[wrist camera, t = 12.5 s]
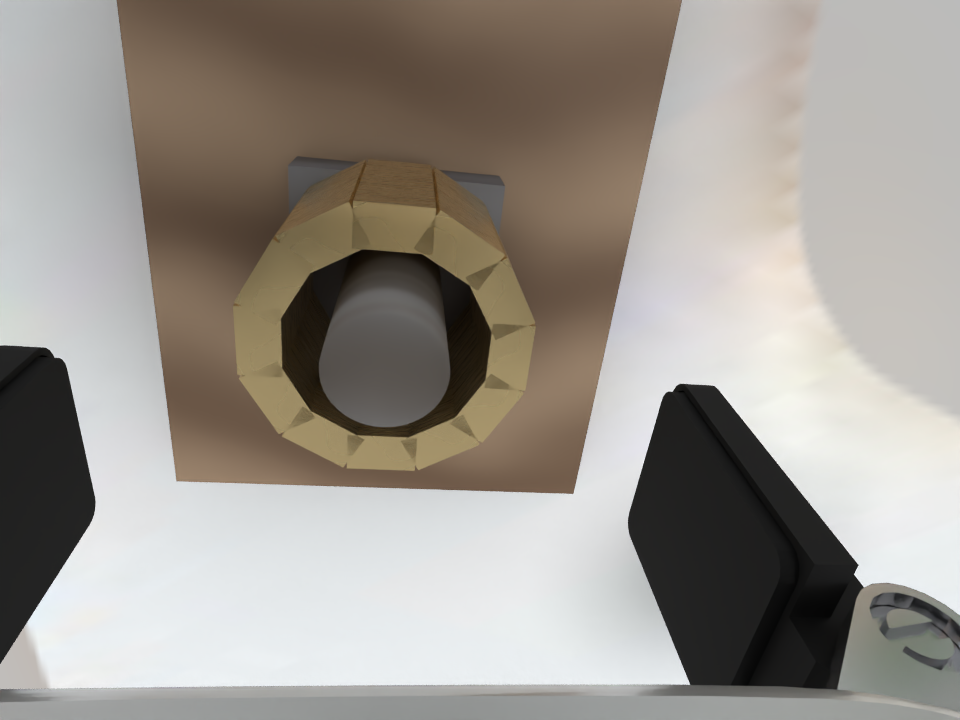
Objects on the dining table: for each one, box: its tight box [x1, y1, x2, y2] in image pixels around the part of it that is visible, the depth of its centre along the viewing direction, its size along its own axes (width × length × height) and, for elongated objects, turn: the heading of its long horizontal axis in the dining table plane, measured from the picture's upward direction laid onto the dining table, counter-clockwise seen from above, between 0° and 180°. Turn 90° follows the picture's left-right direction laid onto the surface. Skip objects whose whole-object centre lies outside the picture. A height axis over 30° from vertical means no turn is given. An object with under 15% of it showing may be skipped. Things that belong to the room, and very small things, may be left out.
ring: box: [233, 159, 536, 471], centre depth 17 cm, size 7×7×5 cm
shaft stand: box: [117, 0, 682, 494], centre depth 18 cm, size 18×15×9 cm
